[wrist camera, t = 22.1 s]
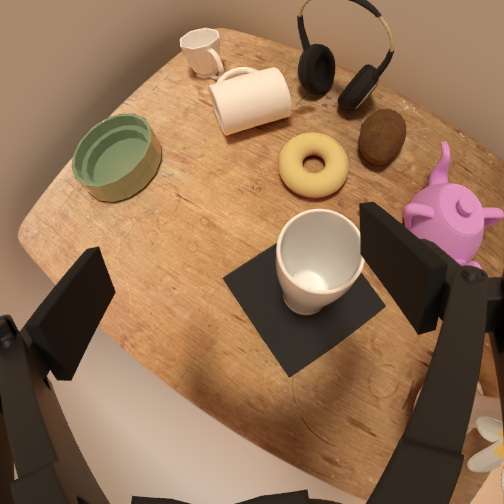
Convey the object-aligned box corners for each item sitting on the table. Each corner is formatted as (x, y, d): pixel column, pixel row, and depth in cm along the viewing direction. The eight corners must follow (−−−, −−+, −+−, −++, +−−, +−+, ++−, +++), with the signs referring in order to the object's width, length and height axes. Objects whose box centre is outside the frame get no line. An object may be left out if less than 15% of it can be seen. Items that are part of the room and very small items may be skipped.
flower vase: (449, 478, 28) (576, 539, 4) (358, 405, 33) (481, 458, 9) (504, 398, 30) (646, 393, 6) (423, 319, 35) (573, 252, 12)
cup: (214, 56, 54) (207, 23, 46) (242, 79, 50) (237, 43, 43) (182, 71, 53) (172, 39, 45) (207, 97, 50) (198, 61, 42)
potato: (345, 159, 43) (353, 131, 37) (368, 118, 46) (376, 90, 40) (387, 180, 42) (400, 154, 36) (405, 136, 44) (417, 110, 38)
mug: (292, 126, 46) (293, 88, 38) (228, 146, 46) (219, 109, 38) (263, 80, 50) (260, 44, 43) (207, 97, 50) (198, 61, 42)
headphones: (308, 67, 51) (313, -29, 32) (384, 102, 47) (412, 5, 28) (283, 92, 49) (280, -13, 30) (364, 131, 45) (393, 23, 26)
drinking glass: (310, 254, 39) (327, 191, 25) (345, 298, 37) (384, 257, 23) (264, 287, 38) (256, 240, 24) (299, 334, 36) (314, 314, 22)
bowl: (101, 219, 43) (84, 203, 39) (79, 163, 47) (65, 146, 43) (175, 170, 45) (165, 149, 40) (143, 121, 49) (133, 101, 44)
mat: (289, 377, 35) (289, 377, 34) (223, 278, 39) (222, 277, 39) (385, 306, 36) (386, 306, 36) (317, 217, 41) (317, 216, 40)
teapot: (446, 297, 36) (482, 279, 27) (375, 221, 40) (395, 187, 32) (487, 240, 38) (520, 215, 29) (423, 173, 42) (445, 137, 33)
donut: (273, 196, 45) (339, 211, 42) (265, 182, 40) (338, 198, 37) (293, 136, 46) (355, 148, 43) (287, 118, 42) (355, 130, 39)
